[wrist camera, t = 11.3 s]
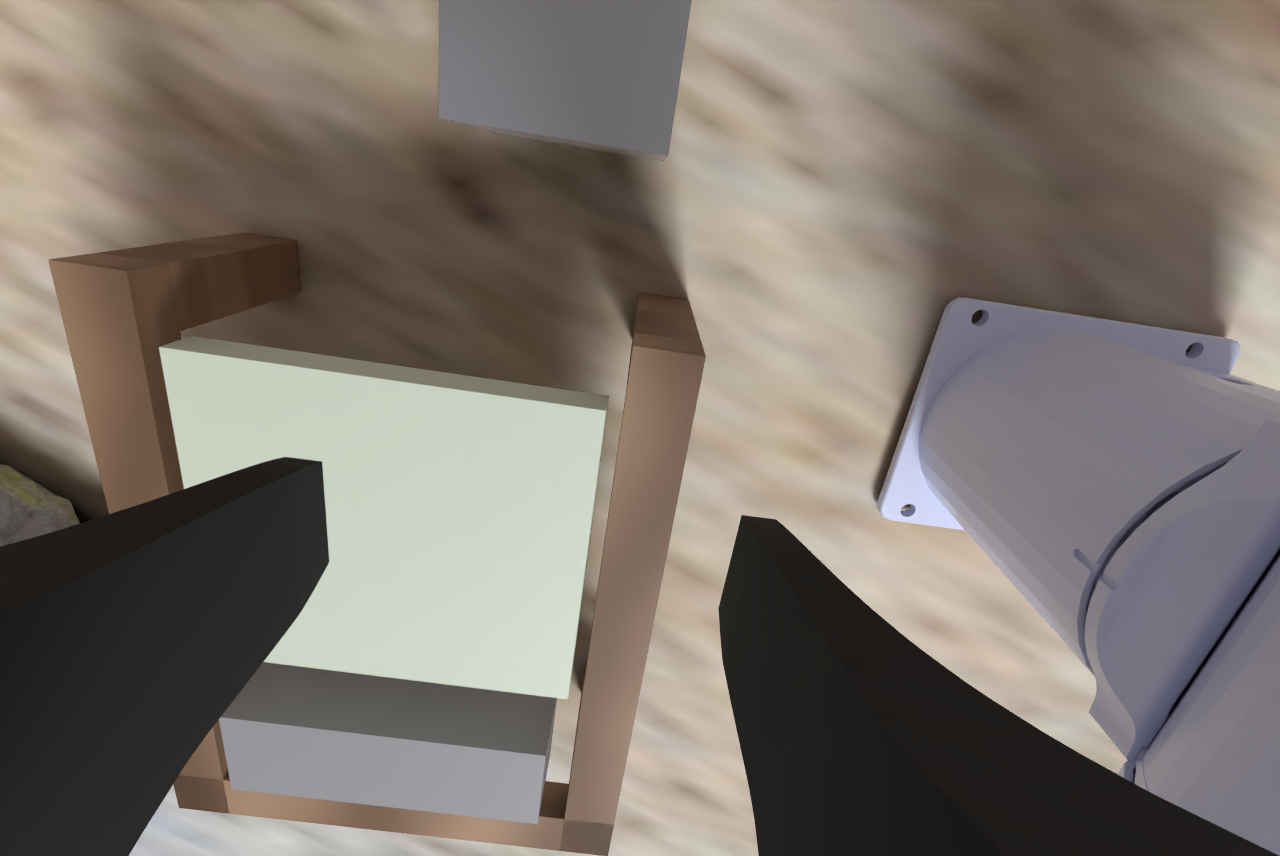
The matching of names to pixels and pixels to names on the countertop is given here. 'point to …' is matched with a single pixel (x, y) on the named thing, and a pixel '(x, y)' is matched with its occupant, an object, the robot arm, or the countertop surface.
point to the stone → (565, 70)
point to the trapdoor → (406, 573)
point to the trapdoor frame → (149, 469)
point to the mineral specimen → (30, 508)
